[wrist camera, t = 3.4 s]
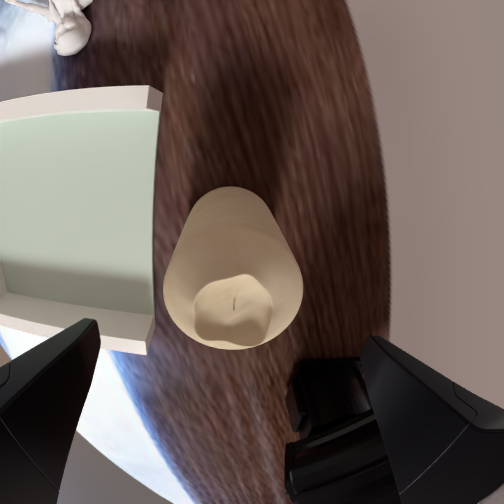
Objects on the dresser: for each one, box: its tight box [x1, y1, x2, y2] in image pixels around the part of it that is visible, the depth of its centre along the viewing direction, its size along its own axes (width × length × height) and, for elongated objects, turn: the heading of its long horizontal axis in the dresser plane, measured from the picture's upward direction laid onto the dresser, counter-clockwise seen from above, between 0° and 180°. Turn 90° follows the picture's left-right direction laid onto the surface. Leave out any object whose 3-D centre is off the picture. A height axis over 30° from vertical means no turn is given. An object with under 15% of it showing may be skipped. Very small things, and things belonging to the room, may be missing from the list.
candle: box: [163, 186, 303, 349], centre depth 15 cm, size 6×6×10 cm
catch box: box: [0, 85, 163, 355], centre depth 16 cm, size 15×16×4 cm
